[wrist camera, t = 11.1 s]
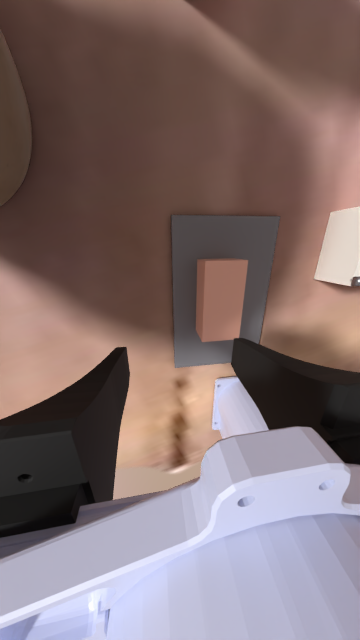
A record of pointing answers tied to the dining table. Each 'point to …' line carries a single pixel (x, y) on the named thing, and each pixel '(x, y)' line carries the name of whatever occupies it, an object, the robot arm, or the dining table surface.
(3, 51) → the plant pot
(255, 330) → the mat
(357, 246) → the panel
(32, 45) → the dining table surface
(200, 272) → the tall pink rectangular block
